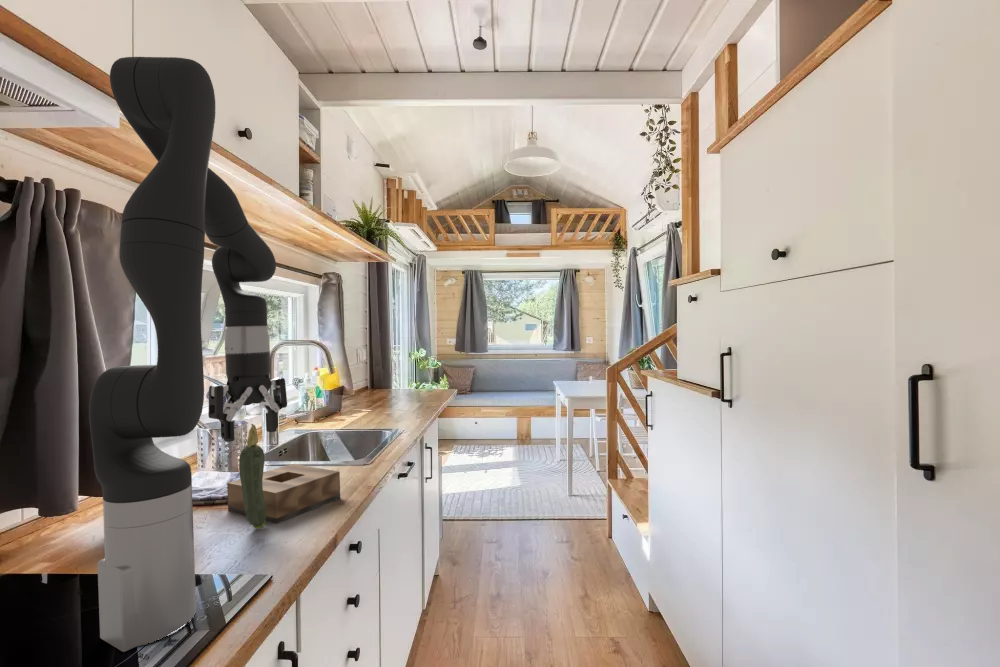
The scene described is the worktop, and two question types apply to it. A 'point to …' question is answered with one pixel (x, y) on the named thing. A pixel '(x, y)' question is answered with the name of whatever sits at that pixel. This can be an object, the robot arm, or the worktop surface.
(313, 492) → the socket block
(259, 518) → the vegetable
